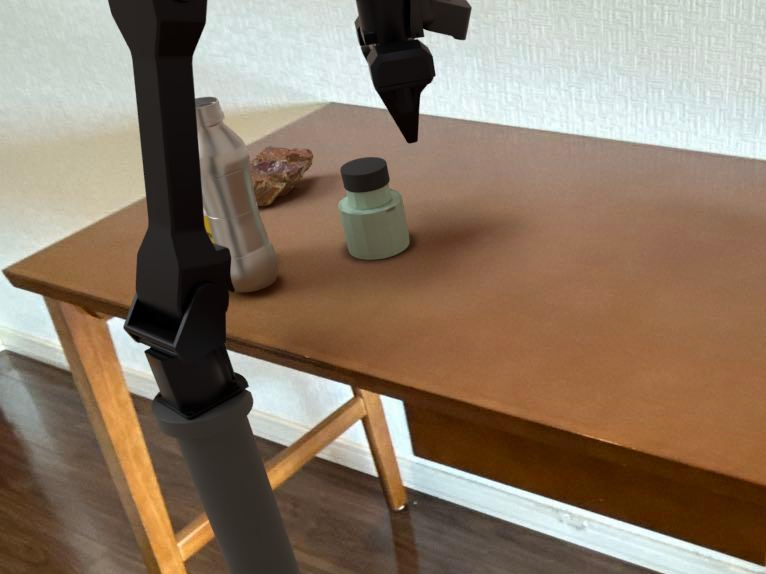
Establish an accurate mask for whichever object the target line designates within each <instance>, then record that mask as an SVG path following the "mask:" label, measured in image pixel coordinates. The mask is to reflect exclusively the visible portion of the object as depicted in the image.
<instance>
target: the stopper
mask: <svg viewBox="0 0 766 574" xmlns="http://www.w3.org/2000/svg"><path fill="white" fill-rule="evenodd" d="M339 172H340V175H341V180H342V185H343V188H344V189H346V190H347V191H350V192H356V193H363V192H370V191H374V190H378V189H380V188H382V187H384V186H386V185H387V184H388V183H390V181H391V179H390V173H389V167H388V164H387V161H386V159H384V158H382V157H377V156H366V157H359V158H355V159H352V160H349V161H347V162H345V163H344V164H342V165H341V167H340V168H339ZM346 190H345V191H346Z"/></svg>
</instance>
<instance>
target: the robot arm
mask: <svg viewBox="0 0 766 574" xmlns="http://www.w3.org/2000/svg"><path fill="white" fill-rule="evenodd" d="M107 3H108V7H109V10H110V14H111V16H112V19H113V20H114V22H115V24H116V27H117V29H118V30H119V32H120V34H121V36H122V38H123V40H124V42H125V44H126V46H127V47H128V50H129V52H130V55H131V56H130V57H131V60H132V61H131V62H132V71H133V83H134V89H135V90H134V91H135V101H136V102H135V103H136V113H137V121H138V130H139V131H138V132H139V141H140V142H139V143H140V150H141V160H142V162H141V163H142V171H143V181H144V190H145V201H146V210H147V221H148V222H147V229H146V231H145V234H144V236H143V239H142V241H141V243H140V245H139V247H138V251H137V252H136V266H135V267H136V268H135V269H136V270H135V294H134V296H133V299H132V302H131V304H130V306H129V310H128V313H127V315H126V317H125V320H124V324H123V326H122V327H123V330H124V331H125V332H126V334H127V335H128V336H129V337H130V338H131V339H132V341H134V342H135V343H137V344H142V345H144V346H146V347H149V348H147V349H145V350H144V351H143V353H144V355H145V358H146V360H147V362H148V363H147V364H148V365H149V368H150V370H151V372H152V376H153V378H154V381H155V382H156V385H157V387H158V390H159V391H160V393H159V394H158V393H157V394H158V395H157V394H155V396H156V400H157V401H158V402H159V403H161V404H162V405H164V406H166V407H167V408H169V409H170V410H172V411H174V412H175V413H177V414H178V415H180V416H182V417H183V418H185V419H187V420H193V419H195V418H197V417H199V416H200V415H202V414H204V413H206V412H208V411H210V410H211V409H213V408H215V407H217V406H219V405H221V404H222V403H224V402H226V401H228V400H230V399H231V398H233V397H235V396H237V395H239V394H241V393H242V392H243V388H242V386H241V385H239V384H237V383H235V382H233V381H234V380H235V379H236V376H235V373H234V372H235V370H234V367H233V364H232V361H231V358H230V355H229V352H228V349H227V346H226V342H227V312H228V309H229V306H230V293H235V289H234V286H233V284H232V281H231V254H230V250H229V248H227V247H224V246H221V245H218V244H214V243H212V241H211V239H210V237H209V235H208V233H207V231H206V228H205V223H204V210H203V196H202V183H201V170H200V156H199V143H198V130H197V116H196V103H195V98H196V91H195V78H194V65H193V63H194V62H193V60H194V54H195V52H196V49H197V46H198V44H199V41H200V39H201V38H202V37H201V36H202V34H203V32H204V29H205V27H206V24H207V15H208V0H107ZM355 4H356V8H357V14H358V15H357V17H356V19H355V20H354V22H353V23H354V27H355V32H356V38H357V42H358V45H359V47H360V50H361V53H362V56H363V57H364V59H365V61H366V63H367V66H368V71H369V75H370V80H371V82H372V85H373V89H374V90H375V92H376V93H377V95H378V96H379V98H380V100H381V101H382V103H383V105H384V106H385V108H386V110H387V111H388V113H389V115H390V116H391V118H392V119H393V121H394V123H395V124H396V126H397V128H398V130H399V131H400V133H401V135H402V136H403V138H404V140H405V142H406V143H407V144H415V143H417V142H418V141H419V128H420V127H419V124H420V109H421V108H420V106H421V94H422V92H423V91H424V90H425V89H426V88H427V86H428V85H430V84H432V82H433V81H434V78H435V77H436V75H437V74H436V68H435V61H434V55H433V54H432V51H431V50H430V48H429V47H428V46H427V44H425V43H423V42H422V41H421V40H419V39H420V38H425V31H427V32H431V33H435V34H439V35H444V36H449V37H452V39H453V40H456V41H466V40H467V35H468V30H469V25H470V20H471V14H472V8H473V7H472V5H471V4H470V3H469V1H468V0H355Z"/></svg>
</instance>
